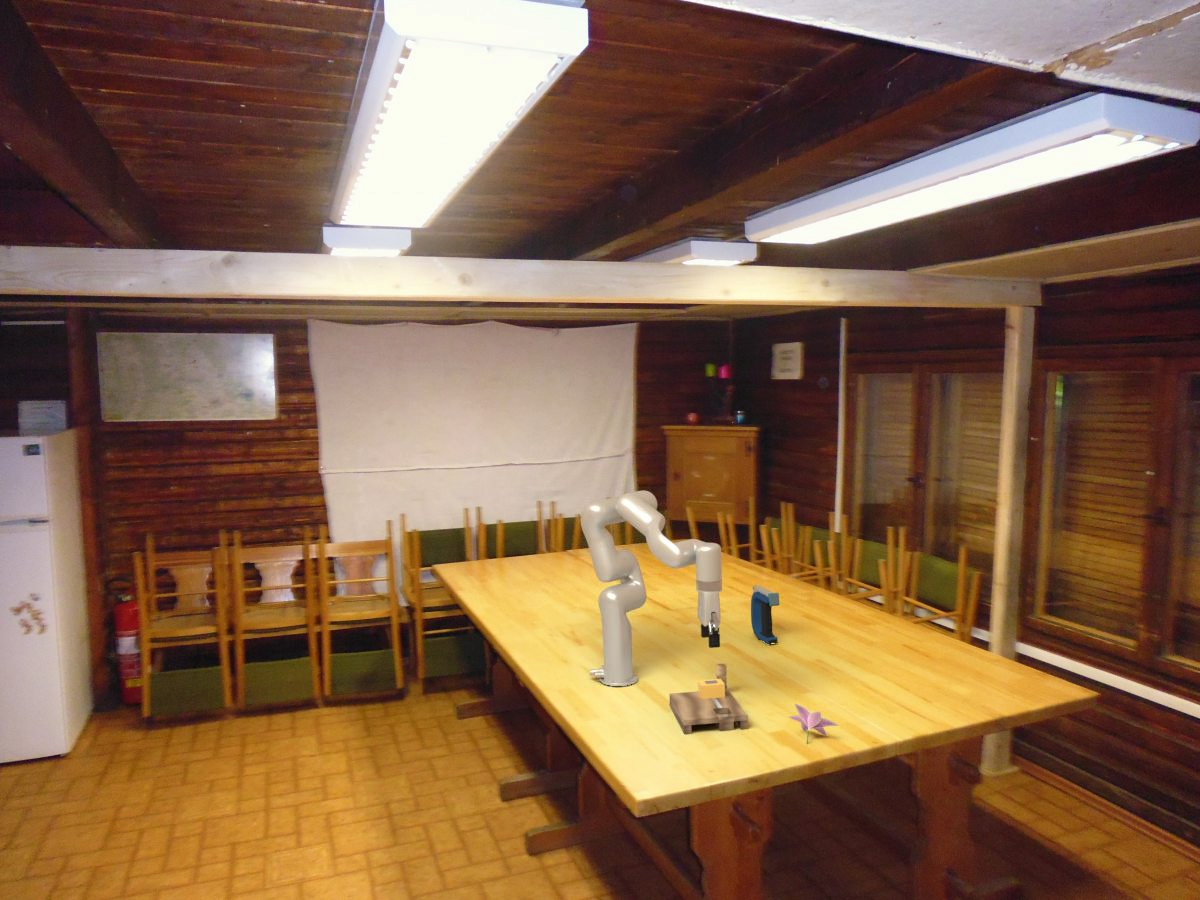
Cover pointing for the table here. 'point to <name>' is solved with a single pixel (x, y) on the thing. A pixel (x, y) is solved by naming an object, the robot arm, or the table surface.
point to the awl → (722, 673)
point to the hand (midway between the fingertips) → (710, 642)
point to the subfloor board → (707, 711)
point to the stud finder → (711, 688)
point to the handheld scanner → (763, 613)
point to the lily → (811, 720)
